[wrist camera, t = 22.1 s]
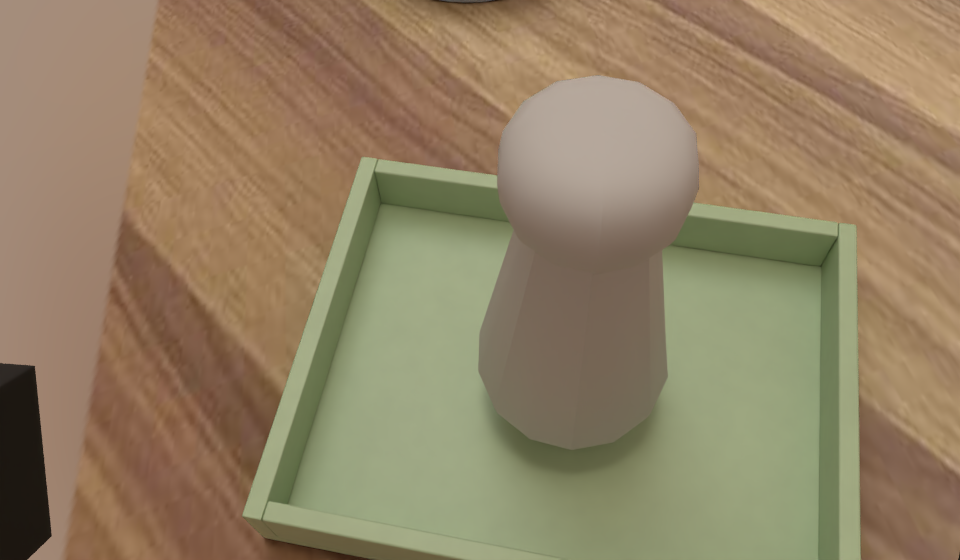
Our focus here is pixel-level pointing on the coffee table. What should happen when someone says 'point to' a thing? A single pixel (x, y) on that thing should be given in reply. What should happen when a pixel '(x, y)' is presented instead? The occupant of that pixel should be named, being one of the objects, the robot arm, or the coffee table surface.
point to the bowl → (466, 0)
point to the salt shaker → (586, 259)
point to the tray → (543, 467)
